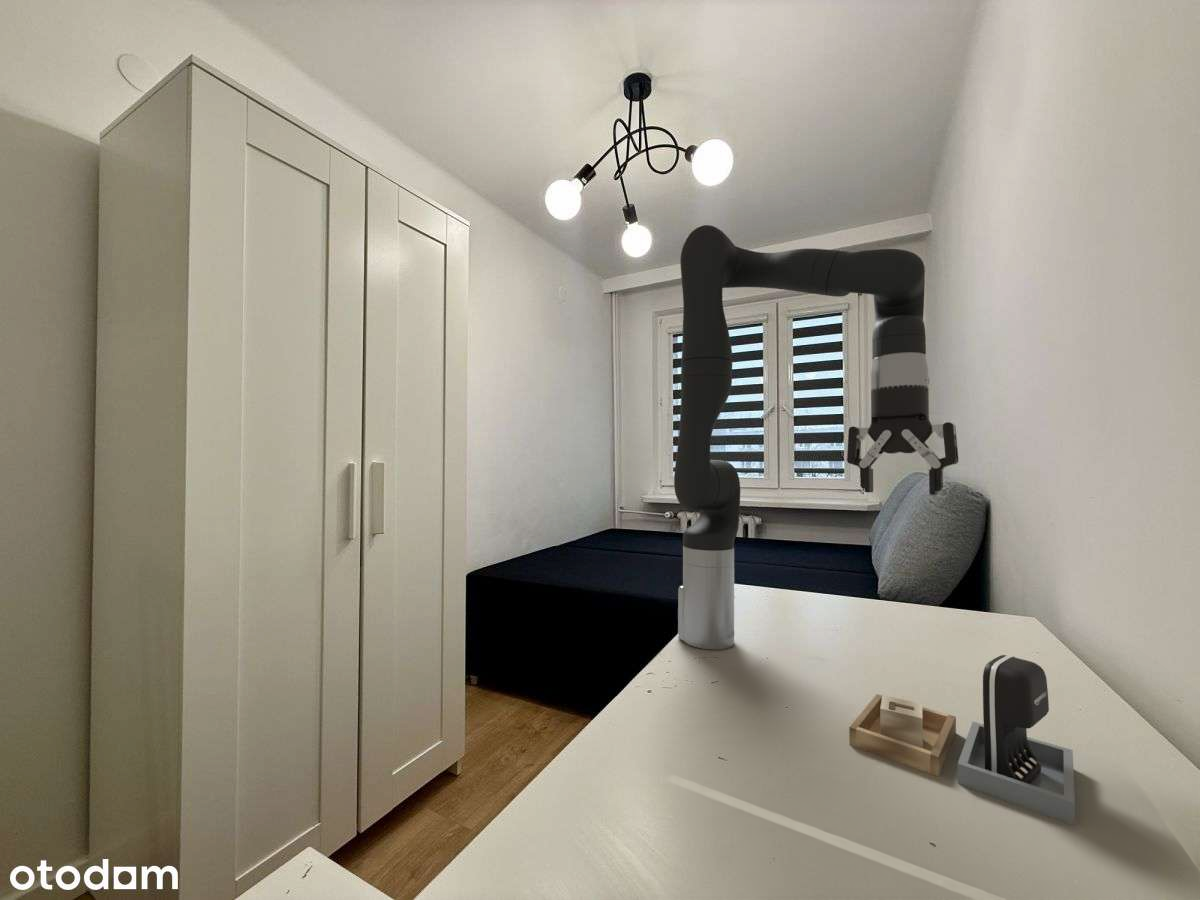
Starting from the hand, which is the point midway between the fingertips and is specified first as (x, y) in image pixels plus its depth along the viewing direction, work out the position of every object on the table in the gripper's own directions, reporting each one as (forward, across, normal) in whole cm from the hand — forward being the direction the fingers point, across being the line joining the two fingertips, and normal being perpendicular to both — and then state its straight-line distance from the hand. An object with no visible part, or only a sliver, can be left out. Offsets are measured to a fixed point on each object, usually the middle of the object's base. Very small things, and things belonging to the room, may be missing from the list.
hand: (900, 493), depth 75 cm
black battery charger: (+28, +14, -19) cm, 36 cm away
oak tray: (+28, +4, -19) cm, 34 cm away
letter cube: (+28, +4, -20) cm, 34 cm away
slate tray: (+28, +14, -19) cm, 37 cm away
